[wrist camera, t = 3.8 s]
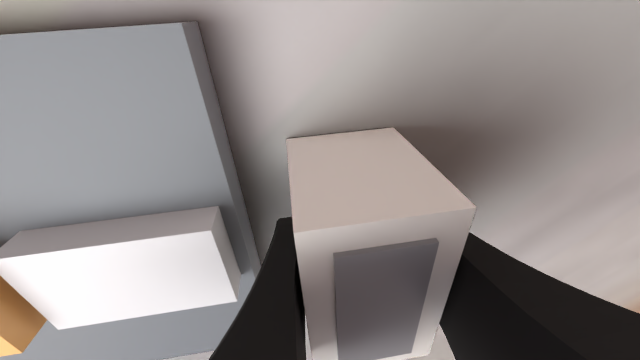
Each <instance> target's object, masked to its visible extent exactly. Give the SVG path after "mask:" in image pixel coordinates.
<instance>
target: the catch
mask: <svg viewBox="0 0 640 360" xmlns="http://www.w3.org/2000/svg"><path fill="white" fill-rule="evenodd" d="M46 321H47V319H46V318H45V317H44V316H43V315H42V314H41V313H40V312H39V311H38V310H37V309H35V308H34V307H33V306H32V305H31V304H30V303H29V302H28V301H27V300H26V299H25V298H24V297H23V296H22V295H20V294H19V293H18V292H17V291H16V290H15V289H14V288H13V287H12V286H11V285H10V284H9V283H8V282H7V281H6V280H4V279H3V278H2V277H1V276H0V357H1V356H7V355H13V354H19V353H23V352H24V350H25V349H26V348H27V346H28V345H29V344H30V342H31V341H32V340H33V338H34V337H35V336H36V334H37V333H38V332H39V330H40V329H41V328H42V326H43V325H44V324H45V322H46Z"/></svg>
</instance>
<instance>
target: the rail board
mask: <svg viewBox="0 0 640 360" xmlns="http://www.w3.org/2000/svg"><path fill="white" fill-rule="evenodd" d="M260 269H261V264H260V260H259V256H258V252H257V248H256V245H255V241H254V237H253V233H252V229H251V225H250V221H249V218H248V214H247V210H246V206H245V202H244V198H243V195H242V191H241V187H240V183H239V179H238V175H237V172H236V168H235V164H234V160H233V156H232V152H231V148H230V145H229V141H228V137H227V133H226V129H225V125H224V122H223V118H222V114H221V110H220V106H219V102H218V99H217V95H216V91H215V87H214V83H213V79H212V75H211V72H210V68H209V64H208V60H207V56H206V52H205V49H204V45H203V41H202V37H201V33H200V29H199V26H198V22H197V21H194V22H179V23H164V24H150V25H135V26H120V27H105V28H91V29H76V30H61V31H46V32H31V33H17V34H2V35H0V276H1V277H2V278H3V279H4V280H6V281H7V282H8V283H9V284H10V285H11V286H12V287H13V288H14V289H15V290H16V291H17V292H18V293H19V294H20V295H22V296H23V297H24V298H25V299H26V300H27V301H28V302H29V303H30V304H31V305H32V306H33V307H34V308H35V309H37V310H38V311H39V312H40V313H41V314H42V315H43V316H44V317H45V318H46V319H47V321H46V322H45V324H44V325H43V326H42V328H41V329H40V330H39V332H38V333H37V334H36V336H35V337H34V338H33V340H32V341H31V342H30V344H29V345H28V346H27V348H26V349H25V350H24V352H23V353H19V354H13V355H7V356H1V357H0V360H162V359H168V358H174V357H179V356H185V355H191V354H197V353H203V352H208V351H214V350H215V349H216V348H217V346H218V345H219V343H220V342H221V340H222V338H223V337H224V335H225V334H226V332H227V330H228V329H229V327H230V326H231V324H232V322H233V321H234V319H235V317H236V316H237V314H238V312H239V310H240V309H241V307H242V305H243V303H244V301H245V299H246V298H247V296H248V294H249V292H250V290H251V288H252V286H253V284H254V281H255V279H256V277H257V275H258V273H259V271H260Z"/></svg>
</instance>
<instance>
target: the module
mask: <svg viewBox="0 0 640 360" xmlns="http://www.w3.org/2000/svg"><path fill="white" fill-rule="evenodd" d="M286 145H287V157H288V170H289V183H290V195H291V208H292V221H293V233H294V240H295V247H296V253H297V260H298V267H299V274H300V280H301V287H302V294H303V300H304V307H305V314H306V321H307V327H308V334H309V341H310V347H311V354H312V360H405V359H411V358H416V357H421V356H427V355H429V353H430V350H431V347H432V344H433V341H434V338H435V335H436V332H437V329H438V325H439V322H440V319H441V316H442V313H443V310H444V307H445V304H446V301H447V298H448V295H449V292H450V289H451V286H452V283H453V279H454V276H455V273H456V270H457V267H458V264H459V261H460V258H461V255H462V252H463V249H464V246H465V243H466V240H467V237H468V233H469V230H470V227H471V224H472V221H473V218H474V215H475V212H476V209H477V207H476V206H475V205H474V204H473V203H472V202H471V201H470V200H469V199H468V198H467V197H466V196H465V195H464V194H462V193H461V192H460V191H459V190H458V189H457V188H456V187H455V186H454V185H453V184H452V183H451V182H450V181H449V180H448V179H447V178H446V177H445V176H444V175H443V174H442V173H441V172H440V171H438V170H437V169H436V168H435V167H434V166H433V165H432V164H431V163H430V162H429V161H428V160H427V159H426V158H425V157H424V156H423V155H422V154H421V153H420V152H419V151H418V150H417V149H416V148H415V147H413V146H412V145H411V144H410V143H409V142H408V141H407V140H406V139H405V138H404V137H403V136H402V135H401V134H400V133H399V132H398V131H397V130H396V129H395V128H394V127H392V128H383V129H373V130H364V131H355V132H346V133H336V134H327V135H318V136H309V137H299V138H290V139H286Z"/></svg>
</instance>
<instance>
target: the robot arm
mask: <svg viewBox="0 0 640 360" xmlns="http://www.w3.org/2000/svg"><path fill="white" fill-rule="evenodd" d="M439 324H440V326H441V328H442V330H443V332H444V334H445V336H446V338H447V340H448V343H449V345H450V347H451V350H452V352H453V354H454V356H455V359H456V360H640V314H639V313H636V312H634V311H631V310H628V309H626V308H623V307H620V306H618V305H615V304H613V303H610V302H608V301H605V300H603V299H600V298H598V297H596V296H593V295H591V294H589V293H586V292H584V291H582V290H579V289H577V288H575V287H573V286H570V285H568V284H566V283H563V282H561V281H559V280H557V279H555V278H553V277H550V276H548V275H546V274H544V273H542V272H540V271H538V270H536V269H534V268H532V267H530V266H528V265H526V264H524V263H522V262H520V261H518V260H516V259H515V258H513V257H511V256H509V255H507V254H505V253H504V252H502V251H500V250H498V249H497V248H495V247H493V246H491V245H490V244H488V243H486V242H485V241H483V240H481V239H480V238H478V237H476V236H475V235H473V234H471V233H470V232H469V233H468V237H467V240H466V243H465V246H464V249H463V252H462V255H461V258H460V261H459V264H458V267H457V270H456V273H455V276H454V279H453V283H452V286H451V289H450V292H449V295H448V298H447V301H446V304H445V307H444V310H443V313H442V316H441V319H440V322H439ZM209 360H306V347H305V307H304V300H303V294H302V287H301V280H300V274H299V267H298V260H297V253H296V247H295V240H294V233H293V221H292V217H287V218H280V219H279V220H278V221H277V223H276V228H275V231H274V235H273V238H272V241H271V244H270V247H269V249H268V252H267V254H266V257H265V259H264V262H263V264H262V267H261V269H260V271H259V273H258V275H257V277H256V279H255V281H254V284H253V286H252V288H251V290H250V292H249V294H248V296H247V298H246V299H245V301H244V303H243V305H242V307H241V309H240V310H239V312H238V314H237V316H236V317H235V319H234V321H233V322H232V324H231V326H230V327H229V329H228V330H227V332H226V334H225V335H224V337H223V338H222V340H221V342H220V343H219V345H218V346H217V348H216V349H215V351H214V352H213V354H212V355H211V357H210V358H209Z"/></svg>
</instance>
